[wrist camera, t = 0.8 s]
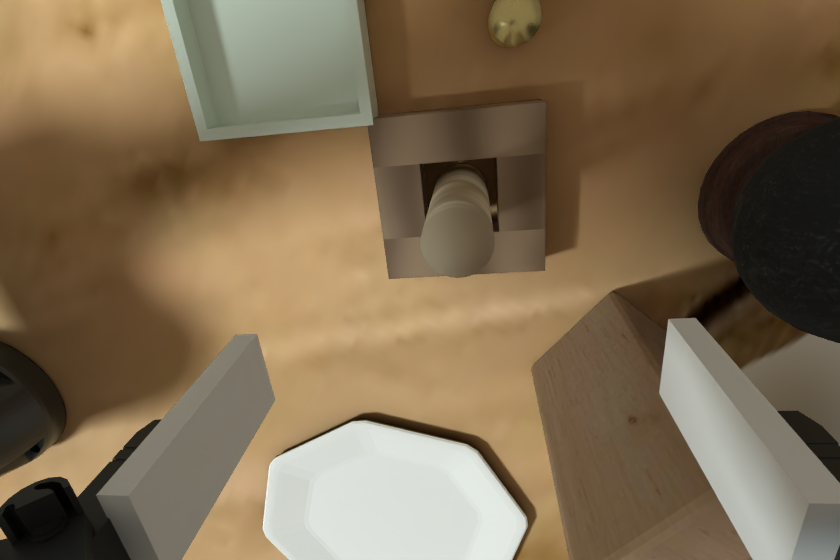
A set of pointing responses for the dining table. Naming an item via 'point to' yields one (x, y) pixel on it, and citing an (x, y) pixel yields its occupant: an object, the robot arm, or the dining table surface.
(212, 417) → the robot arm
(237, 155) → the dining table surface
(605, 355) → the wooden block
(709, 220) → the black ball on stand
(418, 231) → the socket block
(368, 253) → the dining table surface
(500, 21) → the cylinder
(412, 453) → the plate
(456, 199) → the dowel
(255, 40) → the tray
